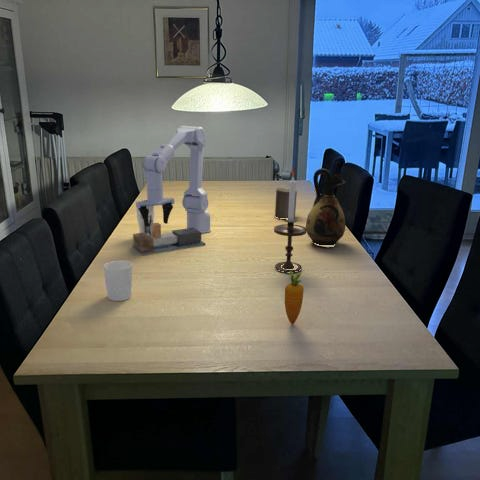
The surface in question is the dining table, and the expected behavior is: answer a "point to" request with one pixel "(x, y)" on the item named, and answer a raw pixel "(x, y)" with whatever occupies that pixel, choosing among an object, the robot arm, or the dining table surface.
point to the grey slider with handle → (162, 236)
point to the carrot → (293, 298)
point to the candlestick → (290, 230)
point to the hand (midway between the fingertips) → (156, 224)
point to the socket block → (143, 242)
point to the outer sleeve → (185, 239)
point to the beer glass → (150, 220)
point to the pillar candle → (283, 202)
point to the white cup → (118, 280)
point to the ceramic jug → (326, 212)
